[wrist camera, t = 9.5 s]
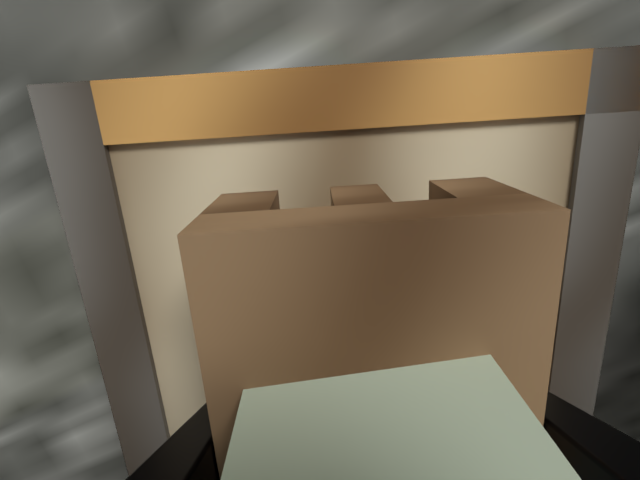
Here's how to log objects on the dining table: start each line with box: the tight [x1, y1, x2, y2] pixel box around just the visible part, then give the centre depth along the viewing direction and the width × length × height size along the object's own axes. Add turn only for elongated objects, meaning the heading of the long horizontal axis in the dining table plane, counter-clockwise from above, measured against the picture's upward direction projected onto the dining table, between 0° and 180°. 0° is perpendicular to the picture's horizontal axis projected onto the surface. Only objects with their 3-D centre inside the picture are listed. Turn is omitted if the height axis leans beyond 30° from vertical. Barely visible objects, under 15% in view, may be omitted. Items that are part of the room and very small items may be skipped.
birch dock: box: [27, 45, 640, 476], centre depth 12 cm, size 14×14×2 cm
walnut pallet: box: [177, 177, 571, 480], centre depth 9 cm, size 6×9×3 cm, turn 4°
